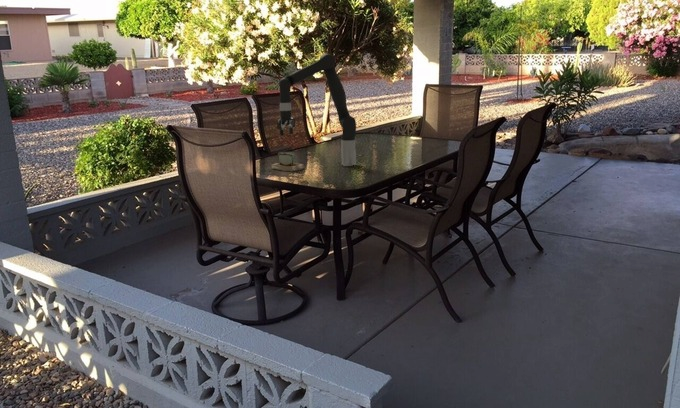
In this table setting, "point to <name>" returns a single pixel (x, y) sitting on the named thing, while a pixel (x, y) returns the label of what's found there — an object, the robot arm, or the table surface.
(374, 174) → the table surface
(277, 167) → the tray
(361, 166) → the table surface
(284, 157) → the food container
